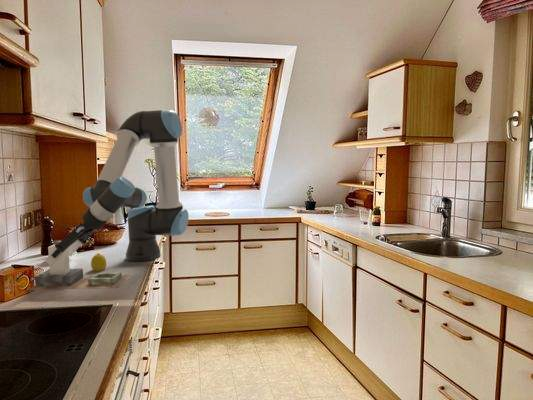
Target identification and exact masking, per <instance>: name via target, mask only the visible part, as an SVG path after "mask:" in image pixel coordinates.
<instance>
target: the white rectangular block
mask: <svg viewBox="0 0 533 400" xmlns="http://www.w3.org/2000/svg"><path fill="white" fill-rule="evenodd" d="M61 241H62V240H57V241H56V240H55V241H54V244H52V245H50V246H48V247H47V250H48V256H49V255H50V254H51V253H52V252H53V251H54V250H55V249H56V247H55V245H56V244H57V245H58V244H59V243H60V242H61ZM48 266H49V269H50V275H59V274H67V273H68V272H70V269H71V268H70V256H69V251H68V248H67V249H66V250H65V251H64V253H63V254H62V255H61V256H60V257H59V258H58V260H57V261H56V262H55V263H54V264H53V265H52V266H50V265H49V264H48Z"/></svg>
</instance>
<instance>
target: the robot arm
mask: <svg viewBox="0 0 533 400" xmlns="http://www.w3.org/2000/svg"><path fill="white" fill-rule="evenodd" d="M182 132H183V125H182V121H181V118H180V117H179V115H178V114H177V112H176V111H174V110H170V109H162V110H159V109H158V110H142V111H141V110H140V111H138V112H135V113H133V114H131V115H130V116H128V117H127V118H126V119H125V120H124V121H123V123H122V124H121V125H120V127H119V128H118V130H117V132H116V141H115V142H114V144H113V147H112V148H111V150H110V153H109V155H108V156H107V158H106V161H105V163H104V165H103V167H102V170H101V171H100V174H99V176H98V178H97V180H96V181H95V184H94V185H93V186H90V187H86V188H85V189H84V190H83V192H82V201H83V203H84V204H85V205H86V207H89V208H88V209H87V210H85V212H84V213H83V214H82V216H81V217H82V221H83V223H80V224H79V225H77V226H76V227H75V228H74V229H73V230H72V231H71V232H70V233H68V234H67V235H66V236H65V237H64V238H63V239H62V240H60V241H61V242H60V243H59V244H58V245H57V244H56V245H55V244H54V245H55V247H56V249H55V250H54V251H53V252H52V253H51V254H50V255H49V254H48V256H47V258H45V260H44V262H46V263H47V264H48V266H49V265H50V266H52V265H53V264H54V263H55V262H56V261H57V260H58V258H59V257H60V256H61V255H62V254H63V253H64V251H65V250H66V249H67V248H68V251H69V257H71V256H73V255H74V253H75V252H76V251H77V250H78V249H79V248H80V247H81V246H82V245H83V244H84V245H86V244H87V241H88V240H89V238H90V237H91V236H92V234H93V233H94V232H95V230H97V231H99V230H101V229H102V228H103V227H104V226H105V225H106V224H107V222H108V221H109V220H110V219H113V218H114V217H115V216H114V215H115V213H117V211H119V210H120V208H130V209H128V211H127V225H128V227H127V228H128V245H127V248H126V253H125V260H126V261H128V260H129V262H149V261H154V260H157V259H159V258H161V256H162V254H161V249H160V247H159V245H158V241H157V236H172V237H174V236H181V235H183V234H184V233H185V232H186V230H187V228H188V224H189V212H188V209H186V208H183V207H184V206H183V205H184V204H183V203H182V202H181V201H179V200H180V199H179V198H180V197H179V189H178V186H179V185H178V175H177V174H178V173H177V172H178V171H177V164H176V163H177V161H176V150H175V149H176V148H175V147H176V145H177V144H178V142H179V139H180V138H181V136H182V134H183V133H182ZM145 139H146V140H148V139H149V144H150V145H151V146H152V147H153V150H154V151H153V152H154V163H155V165H154V166H155V174H156V184H157V187H156V188H157V196H158V202H157V204H156V205H146V206H145V204H146V202H147V194H146V193H147V192H146V191H145V190H143V189H141V188H139V187H137V186H136V187H135V185H134V184H133V183H132V182H131V181H130V180H129V179H127V178H126V177H124V176H123V174H124V171H125V170H126V167H127V165H128V163H129V160H130V159H131V156H132V153H133V152H134V149H135V147H137V146H138V145H139V144H140V143H141V141H142V140H145Z"/></svg>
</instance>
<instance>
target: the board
mask: <svg viewBox="0 0 533 400" xmlns="http://www.w3.org/2000/svg"><path fill="white" fill-rule="evenodd" d="M132 276H133V274H123V273H122V272H97V273H95V274H94V275H84V268H82V267H81V268H70V272H68V273H67V274H59V275H50V268H49V269H48V270H44V271H43V272H41V273H39V274H37V275H35V276H34V285H33V286H34V287H33V286H32V287H33V288H31V287H30V289H29V288H27V293H28V292H29V294H31V293H33V292H34V291H36V290H77V289H79V290H81V289H82V290H83V289H87V290H88V289H118V288H119V287H120V286H121V285H123V284H124V283H125V282H126V281H128V280H129V279H130V278H131V277H132Z"/></svg>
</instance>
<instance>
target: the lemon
mask: <svg viewBox="0 0 533 400" xmlns="http://www.w3.org/2000/svg"><path fill="white" fill-rule="evenodd" d="M90 267H91V269H92V271H93V272H102V271H104V270H105V269H106V267H107V259H106V257H105V256H104V255H103V254H100V253H99V252H98V253H97V254H95V255H93V257H92V258H91V261H90Z"/></svg>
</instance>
